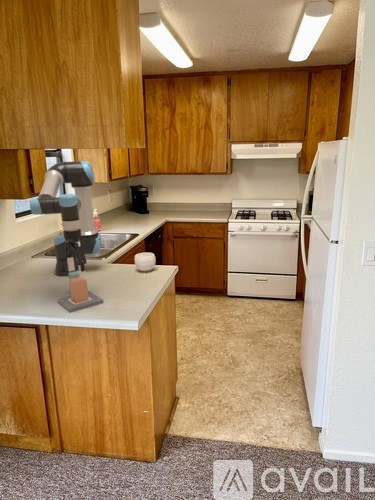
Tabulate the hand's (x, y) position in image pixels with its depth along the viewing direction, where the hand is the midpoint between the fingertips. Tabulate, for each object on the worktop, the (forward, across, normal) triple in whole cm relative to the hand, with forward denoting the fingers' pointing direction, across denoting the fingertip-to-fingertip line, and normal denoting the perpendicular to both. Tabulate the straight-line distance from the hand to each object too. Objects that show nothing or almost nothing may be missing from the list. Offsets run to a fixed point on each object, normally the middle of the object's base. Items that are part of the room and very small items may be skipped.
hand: (77, 274), depth 165 cm
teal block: (+14, -14, +5) cm, 21 cm away
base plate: (+14, 0, 0) cm, 14 cm away
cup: (+15, -20, +49) cm, 55 cm away
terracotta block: (+12, 0, 0) cm, 12 cm away
